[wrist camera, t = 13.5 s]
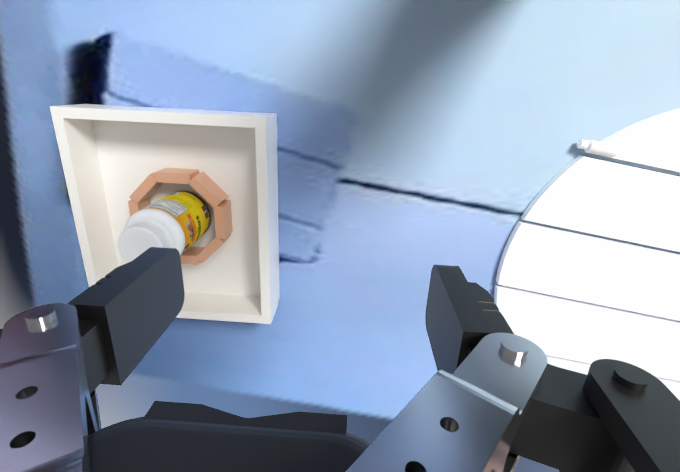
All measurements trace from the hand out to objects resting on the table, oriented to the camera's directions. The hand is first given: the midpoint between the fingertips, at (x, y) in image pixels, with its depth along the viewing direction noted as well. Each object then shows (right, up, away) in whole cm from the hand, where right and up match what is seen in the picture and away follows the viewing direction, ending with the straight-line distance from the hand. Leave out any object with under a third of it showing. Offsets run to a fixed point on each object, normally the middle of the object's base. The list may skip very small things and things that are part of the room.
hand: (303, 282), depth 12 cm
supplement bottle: (-16, +4, +31) cm, 35 cm away
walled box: (-16, +4, +32) cm, 35 cm away
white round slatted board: (+39, -3, +32) cm, 51 cm away
